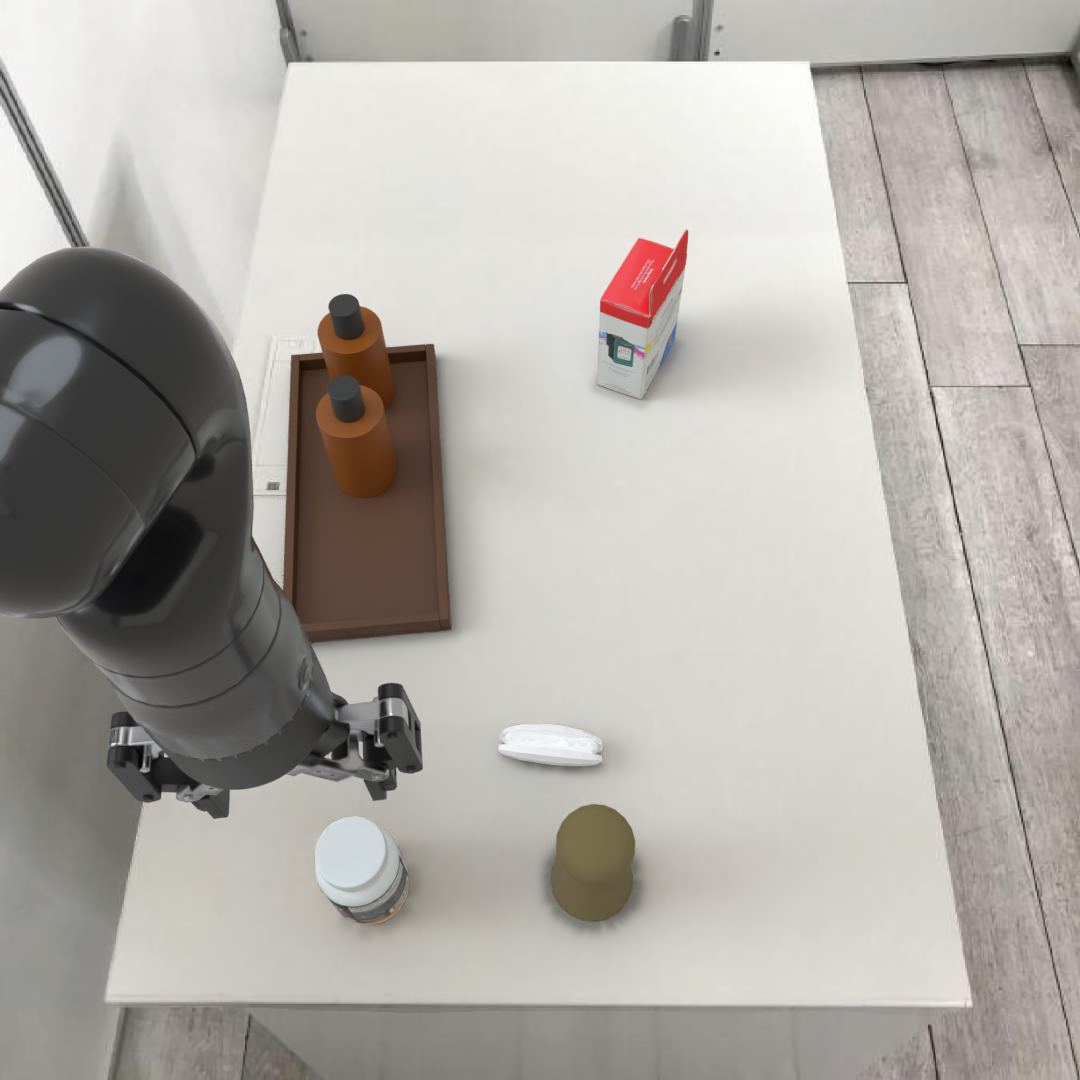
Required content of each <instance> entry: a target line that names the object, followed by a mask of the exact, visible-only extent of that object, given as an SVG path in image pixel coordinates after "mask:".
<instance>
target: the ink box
mask: <svg viewBox="0 0 1080 1080" xmlns="http://www.w3.org/2000/svg"><path fill="white" fill-rule="evenodd" d="M688 244H689V229H687V228H685V229H684V232H683V234H682V235H681V237H680V238H679V240H678V242H677V244H676V245H675V246H674V248H672V247H671V246H667V245H664V244H661V243H658V242H655V241H652V240H649V239H645V238H642V237H638V238H637V240H636V241H635V242H634V244H633V246H632V247H631V249H630V251H629V252H628V254H627V255H626V257H625V259H624V260H623V261H622V263H621V265H620V266H619V268H618V270H617V271H616V273H615V274H614V276H613V277H612V279H611V281H610V282H609V284H608V286H607V287H606V289H605V290H604V292H603V294H602V295H601V297H600V298H599V319H598V320H599V323H598V347H597V365H596V385H598V386H601V387H603V388H607V389H609V390H612V391H614V392H618V393H621V394H624V395H627V396H630V397H632V398H635V399H638V400H643V398H644V396H645V394H646V393H647V391H648V388H649V387H650V386H651V383H652V382H653V380H654V378H655V376H656V374H657V373H658V370H659V369H660V367H661V365H662V363H663V362H664V360H665V358H666V356H667V355H668V353H669V351H670V349H671V347H672V346H673V343H674V342H675V338H676V332H677V326H678V318H679V312H680V305H681V299H682V298H681V297H682V292H683V284H684V280H685V279H684V278H685V272H686V265H687V259H688Z"/></svg>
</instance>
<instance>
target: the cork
mask: <svg viewBox="0 0 1080 1080" xmlns="http://www.w3.org/2000/svg"><path fill="white" fill-rule="evenodd" d="M555 850H556V857H555V859H554V862H553V864H552V866H551V871H550V880H549V881H550V885H551V890H552V894H553V897H554V898H555V900H556V901H557V903H558V905H559V906H560V908H561V909H562V910H564V911H565V913H567V914H568V915H569V916H571V917H573V918H576V919H578V920H580V921H584V922H595V923H597V922H601V921H603V920H609V919H610V918H612V917H614V916H615V915H617V914H618V913H620V912H621V911H622V909H623V908H624V907H625V905H627V903H628V902H629V900H630V897H631V894H632V891H633V884H634V874H633V871H632V867H631V864H632V862H633V860H634V857H635V854H636V853H635V852H636V839H635V835H634V831H633V828H632V826H631V825H630V824H629V822H628V820H627V818H626V817H625V816H623V815H622V814H621V813H620V812H619V811H618V810H617V809H615V808H612V807H610V806H608V805H605V804H599V803H591V804H586V805H582V806H580V807H578V808H576V809H574V810H573V811H571V812H570V813H568V814H567V816H566V817H565V818H564V819H563V821H561V823H560V826H559V828H558V831H557V833H556V842H555Z"/></svg>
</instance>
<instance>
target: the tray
mask: <svg viewBox="0 0 1080 1080" xmlns="http://www.w3.org/2000/svg"><path fill="white" fill-rule="evenodd" d="M386 349H387V354H388V359H389V363H390V368H391V373H392V378H393V383H394V388H395V396H394V399H393V401H392V403H391V404H390V406H389V407H388V408H387V409H386V410H384V411H385V415H386V419H387V424H388V428H389V433H390V437H391V442H392V446H393V451H394V455H395V459H396V464H397V476H396V478H395V481H394V482H393V484H392V485H391V486H390V487H389V488H388V489H387V490H386V491H385V492H383V493H381V494H379V495H377V496H374V497H369V498H358V497H353V496H351V495H348V494H347V493H345V492H344V491H343V490H341V488H340V487H339V486H338V484H337V482H336V479H335V476H334V473H333V470H332V466H331V463H330V460H329V457H328V454H327V451H326V448H325V444H324V441H323V438H322V435H321V432H320V429H319V426H318V422H317V419H316V410H317V406H318V404H319V402H320V400H321V399H322V398H323V397H324V396H325V395H326V394H327V393H328V391H327V389H328V385H329V383H330V382H331V381H330V377H329V374H328V370H327V367H326V363H325V360H324V356H323V353H322V352H311V353H310V352H309V353H300V354H299V353H297V354H291V355H290V377H289V405H288V406H289V407H288V432H287V433H288V435H287V464H286V490H285V492H286V494H285V516H284V517H285V521H284V522H285V523H284V549H283V550H284V552H283V577H282V578H283V579H282V590H283V591H284V593H285V594H286V596H287V597H288V598H289V600H290V602H291V603H292V605H293V607H294V609H295V611H296V613H297V615H298V617H299V620H300V622H301V624H302V626H303V628H304V630H305V632H306V635H307V637H308V639H309V641H310V643H321V642H330V641H340V640H341V641H342V640H352V639H354V640H355V639H364V638H375V637H385V636H387V637H388V636H397V635H406V634H418V633H419V634H420V633H429V632H439V631H451V630H452V621H451V618H452V617H451V601H450V584H449V583H450V581H449V565H448V550H447V549H448V547H447V531H446V529H447V528H446V515H445V514H446V512H445V498H444V497H445V494H444V478H443V477H444V476H443V461H442V460H443V459H442V444H441V443H442V442H441V440H442V439H441V426H440V423H441V422H440V408H439V407H440V406H439V390H438V388H439V387H438V372H437V371H438V369H437V355H436V349H435V344H434V343H424V344H410V345H398V346H386Z"/></svg>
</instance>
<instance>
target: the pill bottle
mask: <svg viewBox="0 0 1080 1080" xmlns="http://www.w3.org/2000/svg"><path fill="white" fill-rule="evenodd" d="M314 849H315V850H314V861H315V863H314V871H315V879H316V882H317V885H318V887H319V890H320V891H321V892H322V893H323V895H324V896H325V897H326V898H327V900H329V901H330V903H331V904H332V905H333V906H334V908H335V909H336V910H337V911H338V912H339V914H340V915H341V916H343V917H344V918H345V919H347V920H348V921H350V922H352V923H354V924H357V925H361V926H372V925H378V924H380V923H383V922H385V921H387V920H389V919H390V918H392V917H393V916H395V915H396V914H397V913H398V912H399V910H400V909H401V908H402V907H403V905H404V903H405V901H406V899H407V897H408V893H409V890H410V873H409V869H408V867H407V865H406V862H405V859H404V856H403V855H402V853H401V851H400V848H399V845H398V844H397V842H396V840H395V838H394V836H393V835H392V834H391V833H390V832H389V831H388V830H387V829H386V828H385V827H383V826H382V825H380V824H378V823H375V822H373V821H372V820H370V819H368V818H366V817H362V816H358V815H351V816H344V817H341V818H338V819H337V820H335V821H333V822H331V823H330V824H328V826H327V827H326V828H325V829H324V830H323V831H322V832H321V834H320V835H319V837H318V839H317V841H316V844H315V848H314Z"/></svg>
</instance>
